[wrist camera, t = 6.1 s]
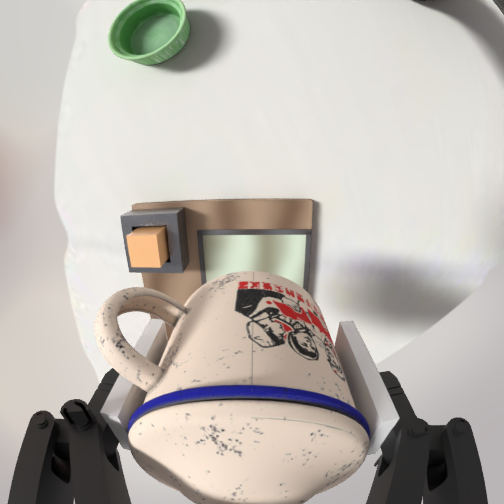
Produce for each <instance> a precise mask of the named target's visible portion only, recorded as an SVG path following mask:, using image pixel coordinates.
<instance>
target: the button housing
mask: <svg viewBox="0 0 504 504" xmlns="http://www.w3.org/2000/svg"><path fill="white" fill-rule="evenodd" d="M120 217H121V224H122V231H123V238H124V244H125V250H126V256H127V261H128V267H129V272H139V273H183V272H184V271H185V269H186V267H187V266H188V264H189V262H190V261H189V251H188V241H187V230H186V218H185V207H174V208H154V209H138V210H131V211H129V212H127V213H125V214H123V215H121V216H120ZM164 226H166V227H167V236H168V245H169V253H170V257H169V258H168V259H167V261H166V262H165V263H164V264H163V265H162V267H161V268H154V267H131V262H130V256H129V251H128V244H127V238H126V236H127V235H128V234H130V233H131V232H132V231H134V230H135V229H137V228H138V227H164Z"/></svg>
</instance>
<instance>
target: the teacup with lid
mask: <svg viewBox="0 0 504 504" xmlns="http://www.w3.org/2000/svg"><path fill="white" fill-rule="evenodd" d="M132 311H140V312H146V313H149V314H151V315H154V316H156V317H157V318H159V319H161V320H163V321H164V322H166V323H167V324H169V325H170V326H172V327H173V328H174V329H173V332H172V334H171V337H170V339H169V341H168V344H167V346H166V348H165V351H164V353H163V356H162V358H161V360H160V363H159V365H156V364H154V363H153V362H151V361H150V360H148V359H147V358H145V357H144V356H142V355H141V354H140V353H139V352H137V351H136V350H135V349H134V348H133V347H132V346H131V345H130V344H129V343H128V342H127V341H126V339H125V338H124V336H123V335H122V333H121V331H120V328H119V325H118V322H117V316H119V315H121V314H123V313H126V312H132ZM94 332H95V338H96V341H97V344H98V347H99V349H100V351H101V353H102V355H103V356H104V358H105V359H106V361H107V362H108V363H109V364H110V365H111V366H112V368H114V369H115V370H116V371H117V372H118V373H119V374H120V375H122V376H123V377H124V378H126V379H127V380H129V381H130V382H132V383H133V384H135V385H136V386H138V387H140V388H141V389H143V390H145V391H146V392H148V393H147V395H146V398H145V401H144V403H143V405H141V406H140V407H138V409H137V410H136V411H135V412H134V413H133V414H132V416H131V418H130V420H129V423H128V430H127V431H128V443H129V448H130V450H131V453H132V455H133V457H134V459H135V460H136V462H137V463H138V464H139V466H140V467H141V468H142V469H143V470H144V471H146V472H147V473H148V474H149V475H150V476H152V477H153V478H155V479H156V480H158V481H159V482H161V483H163V484H164V485H166V486H169V487H170V488H173V489H175V490H177V491H179V492H181V493H182V494H183V495H184V496H186V497H187V498H188V499H189V500H191V501H192V502H194V503H196V504H303V503H304V502H306V501H307V500H309V499H310V498H311V497H313V496H314V495H316V494H319V493H321V492H323V491H326V490H328V489H330V488H333V487H334V486H336V485H338V484H340V483H341V482H343V481H345V480H346V479H347V478H349V477H350V476H351V475H352V474H353V473H355V472H356V471H357V470H358V468H359V467H360V466H361V465H362V463H363V462H364V460H365V457H366V455H367V453H368V449H369V440H370V428H369V425H368V423H367V421H366V419H365V417H364V416H363V415H362V414H361V413H360V412H359V411H358V410H357V409H356V407H355V404H354V401H353V399H352V396H351V393H350V390H349V387H348V384H347V381H346V378H345V375H344V372H343V370H342V367H341V364H340V361H339V358H338V356H337V353H336V350H335V347H334V345H333V342H332V339H331V337H330V334H329V331H328V329H327V326H326V323H325V321H324V318H323V315H322V313H321V310H320V308H319V306H318V305H317V303H316V302H315V300H314V299H313V298H312V296H311V295H310V294H309V293H308V292H307V291H306V290H305V289H303V288H302V287H301V286H299V285H298V284H296V283H294V282H293V281H291V280H289V279H287V278H284V277H282V276H279V275H275V274H272V273H267V272H259V271H242V272H235V273H230V274H226V275H223V276H220V277H217V278H215V279H213V280H211V281H209V282H207V283H205V284H204V285H202V286H201V287H200V288H199V289H197V290H196V291H195V292H194V293H193V294H192V295H191V296H190V298H189V299H188V300H187V302H186V303H185V305H184V306H183V305H182V304H180V303H179V302H177V301H176V300H174V299H173V298H171V297H169V296H168V295H166V294H164V293H162V292H159V291H157V290H153V289H149V288H143V287H133V288H127V289H123V290H121V291H118V292H116V293H115V294H113V295H112V296H110V297H109V298H108V299H107V300H106V301H105V302H104V304H103V305H102V307H101V308H100V310H99V312H98V314H97V316H96V320H95V324H94Z"/></svg>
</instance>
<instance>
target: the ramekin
mask: <svg viewBox="0 0 504 504" xmlns="http://www.w3.org/2000/svg"><path fill="white" fill-rule="evenodd" d="M189 34H190V25H189V21H188V19H187V13H186V9H185V6H184V4H183V3H182V2H181V1H180V0H136V1H134V2H132V3H131V4H129V5H128V6H127V7H125V8H124V9H123V10H122V11H121V12H120V13H119V14H118V16H117V17H116V18H115V20H114V22H113V23H112V25H111V28H110V31H109V35H108V43H109V47H110V49H111V51H112V52H113V53H114V54H115V55H116V56H118V57H120V58H122V59H126V60H131V61H134V62H136V63H139V64H144V65H153V64H158V63H161V62H164V61H166V60H168V59H170V58H171V57H173V56H174V55H175V54H177V53H178V52H179V51H180V50H181V49H182V48H183V47H184V45H185V43H186V42H187V40H188V37H189Z"/></svg>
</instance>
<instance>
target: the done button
mask: <svg viewBox="0 0 504 504" xmlns="http://www.w3.org/2000/svg"><path fill="white" fill-rule="evenodd" d="M126 238H127V244H128V251H129V256H130V262H131V267H154V268H161V267H162V265H163V264H164V263H165V262H166V261H167V259H168V258H169V257H170V253H169V245H168V236H167V227H166V226H164V227H138V228H137V229H135V230H134V231H132V232H131V233H130V234H128V235H127V236H126Z"/></svg>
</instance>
